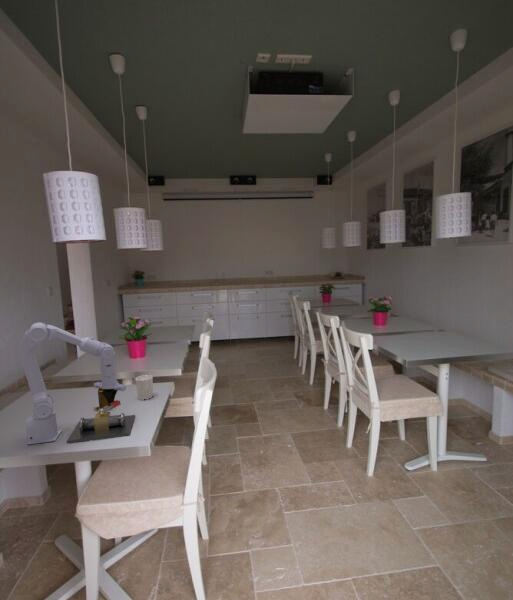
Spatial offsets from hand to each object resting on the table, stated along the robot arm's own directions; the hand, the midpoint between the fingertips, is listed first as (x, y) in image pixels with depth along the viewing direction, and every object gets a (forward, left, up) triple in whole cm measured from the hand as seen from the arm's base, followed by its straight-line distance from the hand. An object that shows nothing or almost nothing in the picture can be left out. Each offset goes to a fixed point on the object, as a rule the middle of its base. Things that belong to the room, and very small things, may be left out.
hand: (111, 405), depth 144 cm
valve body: (-2, -6, -7) cm, 10 cm away
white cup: (+11, +23, -7) cm, 26 cm away
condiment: (-6, +15, -7) cm, 18 cm away
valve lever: (0, -3, 0) cm, 3 cm away
